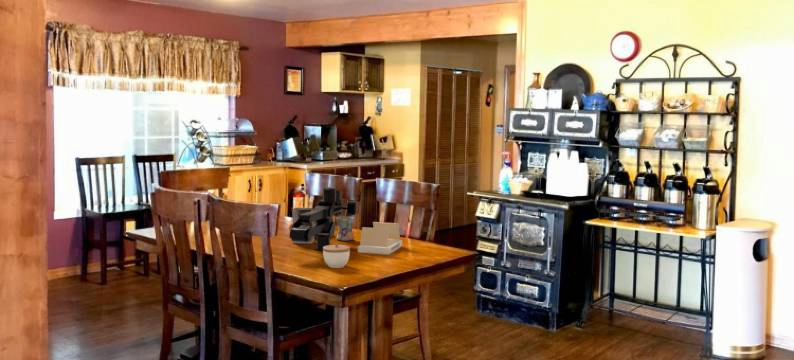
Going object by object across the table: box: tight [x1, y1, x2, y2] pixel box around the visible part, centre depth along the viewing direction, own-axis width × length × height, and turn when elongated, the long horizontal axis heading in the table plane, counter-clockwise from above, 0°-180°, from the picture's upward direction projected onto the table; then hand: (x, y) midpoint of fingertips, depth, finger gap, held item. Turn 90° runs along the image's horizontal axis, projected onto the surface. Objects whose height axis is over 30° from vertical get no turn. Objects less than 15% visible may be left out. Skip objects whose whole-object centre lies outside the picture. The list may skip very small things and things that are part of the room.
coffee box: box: [291, 207, 315, 245], centre depth 334 cm, size 9×6×16 cm
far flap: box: [372, 221, 401, 240], centre depth 327 cm, size 8×12×1 cm
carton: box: [357, 239, 403, 256], centre depth 319 cm, size 20×14×3 cm
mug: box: [335, 216, 356, 242], centre depth 343 cm, size 12×9×11 cm
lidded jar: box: [322, 242, 351, 269], centre depth 285 cm, size 11×11×9 cm
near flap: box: [359, 226, 389, 247], centre depth 311 cm, size 8×12×1 cm
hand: (344, 205), depth 341 cm, fingers open, 9 cm apart
